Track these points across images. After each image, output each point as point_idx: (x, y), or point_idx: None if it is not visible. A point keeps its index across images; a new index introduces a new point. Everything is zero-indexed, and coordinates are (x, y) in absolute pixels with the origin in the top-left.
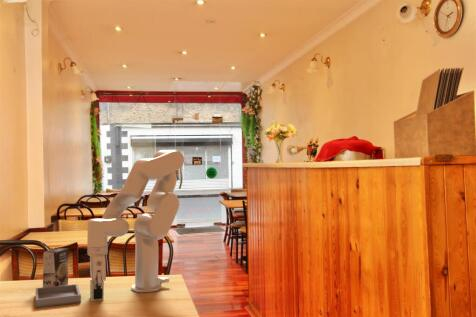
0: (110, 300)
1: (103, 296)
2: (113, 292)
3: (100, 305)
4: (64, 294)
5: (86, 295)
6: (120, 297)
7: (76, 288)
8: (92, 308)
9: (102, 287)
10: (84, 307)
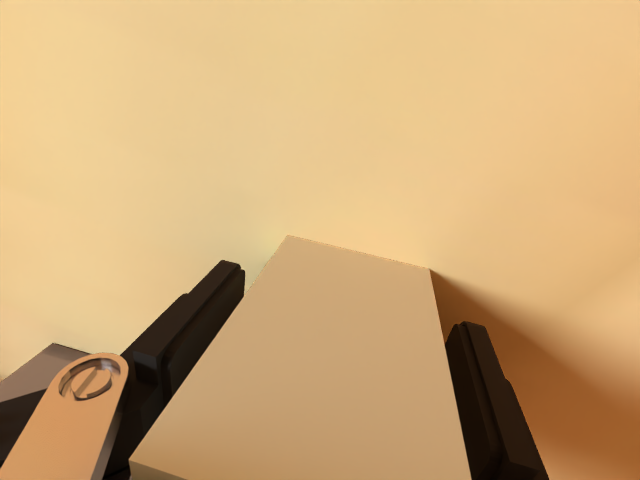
0: (528, 212)
1: (432, 293)
2: (180, 31)
3: (615, 372)
4: None
5: None
6: (507, 7)
7: None
8: (633, 452)
9: (447, 426)
10: None
